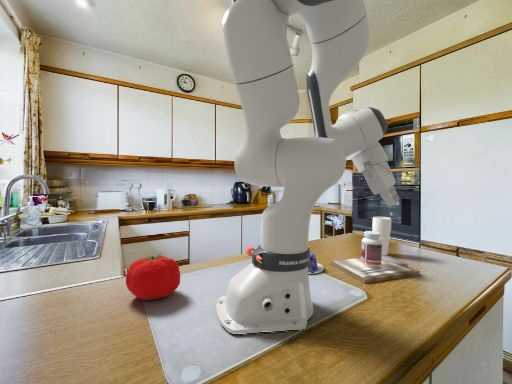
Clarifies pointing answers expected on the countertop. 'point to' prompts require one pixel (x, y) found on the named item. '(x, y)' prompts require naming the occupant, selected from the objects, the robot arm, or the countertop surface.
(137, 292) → the tomato
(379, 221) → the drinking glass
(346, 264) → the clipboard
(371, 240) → the pill bottle
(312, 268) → the pudding
